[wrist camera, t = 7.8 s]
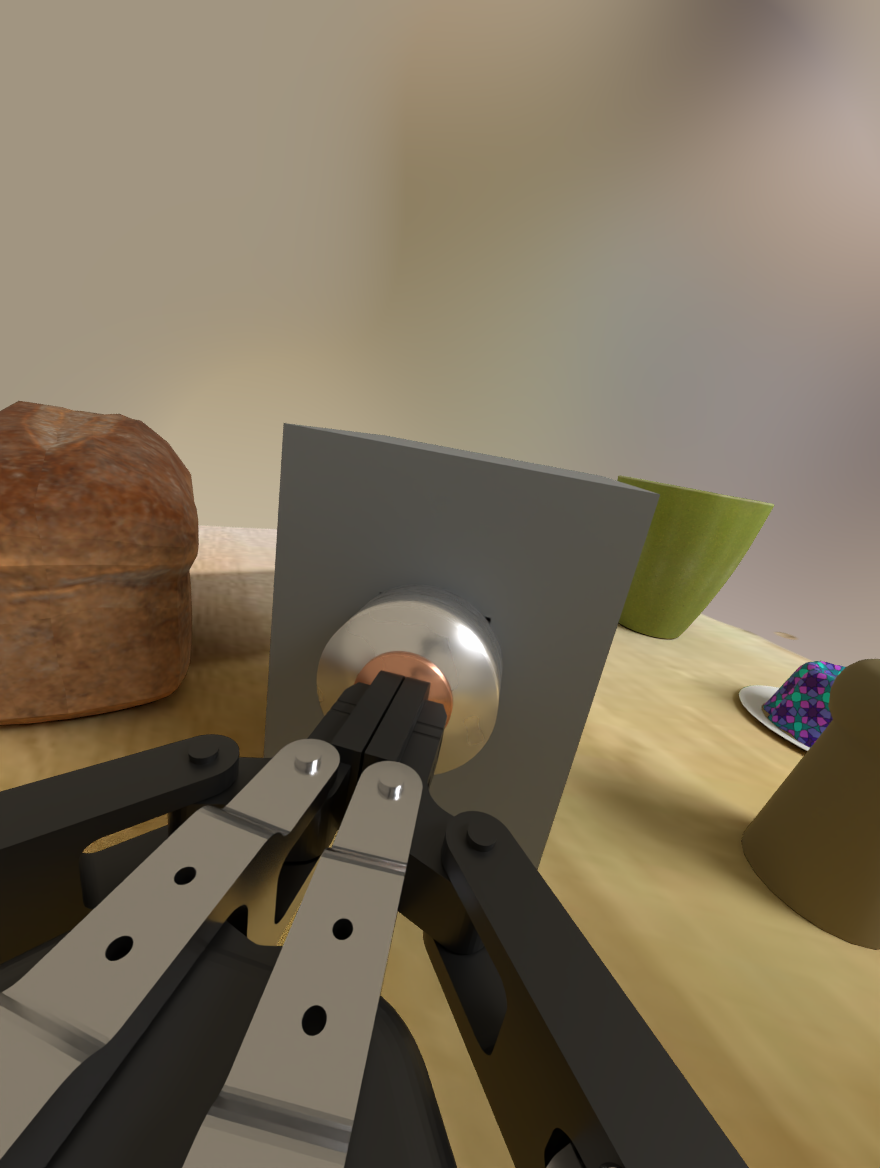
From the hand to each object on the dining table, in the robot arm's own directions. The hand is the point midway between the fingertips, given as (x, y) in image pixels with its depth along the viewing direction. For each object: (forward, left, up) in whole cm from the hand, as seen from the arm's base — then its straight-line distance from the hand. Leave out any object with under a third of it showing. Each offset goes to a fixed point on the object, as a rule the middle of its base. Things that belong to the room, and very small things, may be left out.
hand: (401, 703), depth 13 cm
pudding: (-29, -24, -10) cm, 39 cm away
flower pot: (-20, -41, -9) cm, 46 cm away
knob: (0, -5, -3) cm, 5 cm away
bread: (+25, -13, -9) cm, 30 cm away
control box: (0, -9, -9) cm, 13 cm away
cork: (-20, -8, -9) cm, 23 cm away
